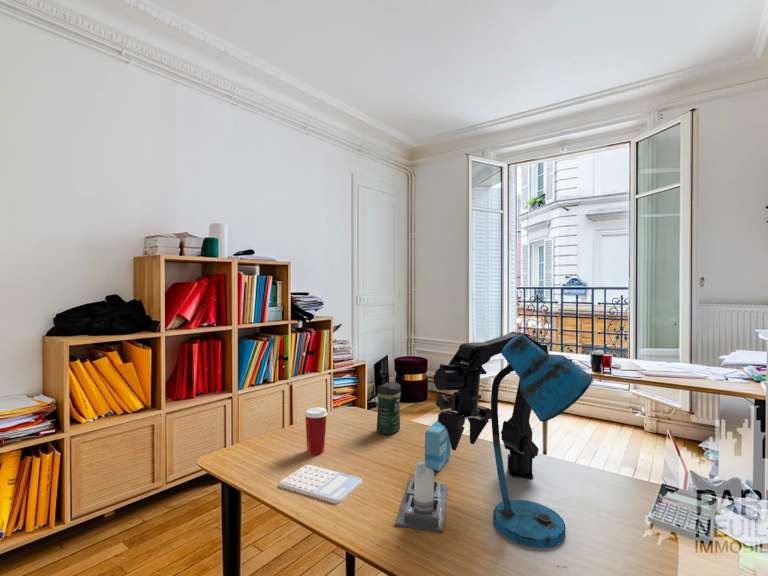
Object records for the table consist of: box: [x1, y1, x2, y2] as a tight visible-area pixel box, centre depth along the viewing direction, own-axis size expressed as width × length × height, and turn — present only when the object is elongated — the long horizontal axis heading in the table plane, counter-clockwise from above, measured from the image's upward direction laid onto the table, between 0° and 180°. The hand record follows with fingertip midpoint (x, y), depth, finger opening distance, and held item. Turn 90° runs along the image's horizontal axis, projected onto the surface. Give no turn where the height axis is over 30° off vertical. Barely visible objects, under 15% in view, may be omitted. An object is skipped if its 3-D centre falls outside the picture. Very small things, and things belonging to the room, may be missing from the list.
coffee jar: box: [376, 381, 402, 435], centre depth 153 cm, size 10×8×19 cm
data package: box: [424, 420, 451, 472], centre depth 125 cm, size 12×4×12 cm, turn 153°
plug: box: [413, 460, 435, 515], centre depth 96 cm, size 5×5×12 cm
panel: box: [394, 477, 449, 533], centre depth 101 cm, size 11×21×2 cm, turn 167°
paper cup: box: [304, 406, 328, 456], centre depth 133 cm, size 8×8×14 cm
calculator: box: [278, 464, 363, 505], centre depth 111 cm, size 13×20×2 cm, turn 64°
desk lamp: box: [490, 334, 594, 548], centre depth 92 cm, size 16×22×45 cm
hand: (463, 446), depth 108 cm, fingers open, 9 cm apart
